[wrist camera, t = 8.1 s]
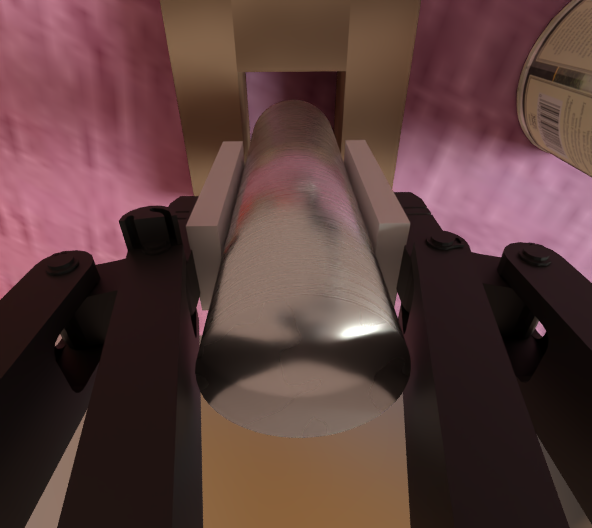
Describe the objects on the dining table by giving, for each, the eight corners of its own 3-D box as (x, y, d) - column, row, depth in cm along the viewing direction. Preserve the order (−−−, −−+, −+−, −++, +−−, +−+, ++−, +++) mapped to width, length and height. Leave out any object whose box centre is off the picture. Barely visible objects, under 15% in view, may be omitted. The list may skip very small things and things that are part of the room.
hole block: (178, -7, 20) (158, -8, 17) (400, -8, 20) (422, -9, 17) (209, 197, 27) (199, 225, 24) (375, 195, 27) (386, 222, 24)
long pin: (249, 100, 17) (175, 299, 6) (335, 99, 17) (431, 295, 6) (255, 182, 20) (210, 439, 8) (331, 181, 20) (394, 435, 8)
